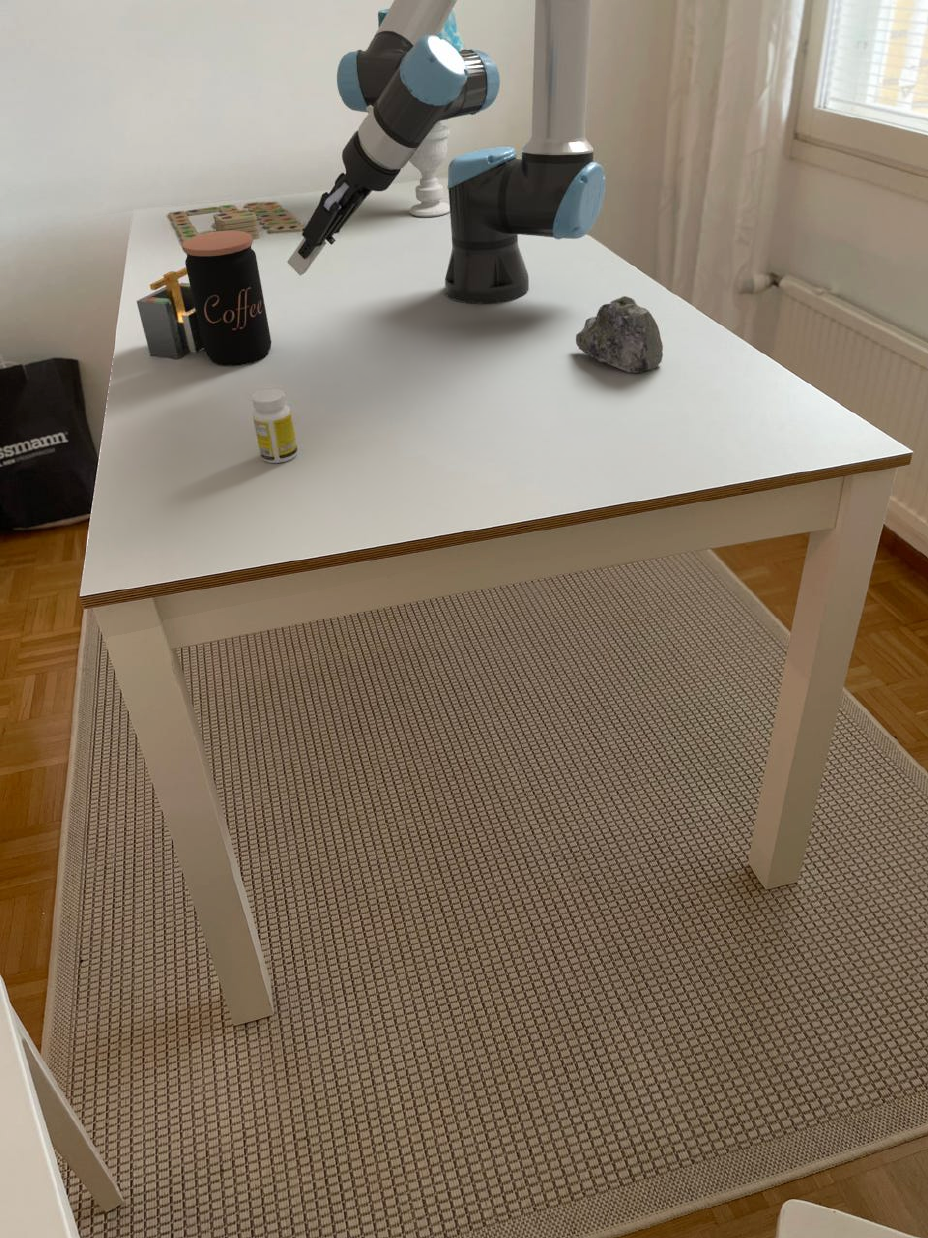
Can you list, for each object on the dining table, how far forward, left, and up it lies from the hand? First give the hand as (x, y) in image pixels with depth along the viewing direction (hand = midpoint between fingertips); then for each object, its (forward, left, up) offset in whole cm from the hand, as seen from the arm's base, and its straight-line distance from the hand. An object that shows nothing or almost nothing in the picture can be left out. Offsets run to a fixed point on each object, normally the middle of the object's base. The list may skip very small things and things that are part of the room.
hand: (296, 267), depth 147 cm
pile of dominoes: (+63, -70, -15) cm, 96 cm away
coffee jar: (+13, +1, -15) cm, 19 cm away
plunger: (+21, +1, -13) cm, 25 cm away
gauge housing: (+24, +1, -14) cm, 28 cm away
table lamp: (+21, -88, -15) cm, 91 cm away
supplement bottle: (-14, +30, -15) cm, 37 cm away
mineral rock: (-46, -13, -15) cm, 50 cm away
